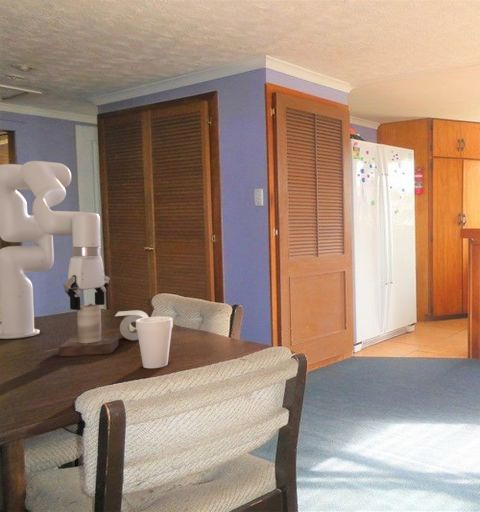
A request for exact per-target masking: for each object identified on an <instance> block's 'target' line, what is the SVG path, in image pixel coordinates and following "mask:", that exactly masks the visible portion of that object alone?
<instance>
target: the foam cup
mask: <svg viewBox="0 0 480 512" xmlns="http://www.w3.org/2000/svg"><path fill="white" fill-rule="evenodd" d="M173 323H174V319H173V317H170V316H149V317H147V318H141V319H138V320H136V322H135V328H136V330H137V333H138V345H139V350H140V356H141V357H140V358H141V362H142V367H143V368H145V369H158V368H163V367H166V366H168V362H169V355H170V347H171V338H172V329H173V326H174V324H173Z"/></svg>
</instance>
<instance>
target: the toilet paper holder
mask: <svg viewBox="0 0 480 512" xmlns="http://www.w3.org/2000/svg"><path fill="white" fill-rule="evenodd" d="M121 316H122V317H123V316H124V317H123V319H122V320H121V322H120V323H119V332H120V334H121V336H122V337H123V338H124V339H127V340H128V341H139V339H138V333H137V330H136V327H134V326H133V325H132V323H136V320H138V319H141V318H147V317H150V316H149V315H148V314H147V313H146V312H145V311H143V310H138V309H136V310H122V311H117V313H116V314H115V315H114V317H121Z"/></svg>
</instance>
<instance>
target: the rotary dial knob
mask: <svg viewBox="0 0 480 512" xmlns="http://www.w3.org/2000/svg"><path fill="white" fill-rule="evenodd" d="M101 306H102V305H96V304H95V303H94V304H93V303H88V304H80V310H76V316H77V320H76V321H77V338H78V342H79V343H93V342H98V341H101V340H102V339H101V337H102V312H101V311H102V310H101V309H102V307H101Z"/></svg>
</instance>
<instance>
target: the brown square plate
mask: <svg viewBox="0 0 480 512" xmlns="http://www.w3.org/2000/svg"><path fill="white" fill-rule="evenodd" d="M101 339H102V340H101V341H98V342H93V343H79V342H78V337H70V338H69V339H67V340H66V341H64V342H63V343H62V344H60V345H59V346H58V357H75V356H91V355H108V354H112V353H113V351H115V349H116V348H117V347H118V346H119V344H120V343H119V342H120V339H119V335H110V336H101Z"/></svg>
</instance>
